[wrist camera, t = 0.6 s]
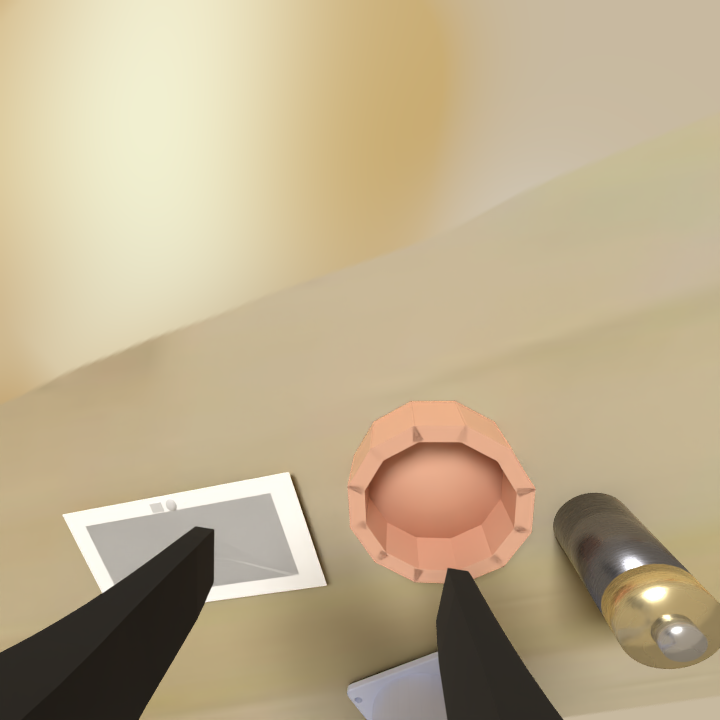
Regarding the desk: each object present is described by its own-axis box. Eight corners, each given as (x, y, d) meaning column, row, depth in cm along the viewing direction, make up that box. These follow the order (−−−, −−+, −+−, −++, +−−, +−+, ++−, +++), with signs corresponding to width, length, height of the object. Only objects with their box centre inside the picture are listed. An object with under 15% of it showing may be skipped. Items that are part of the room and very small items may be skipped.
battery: (642, 537, 20) (759, 664, 13) (572, 564, 21) (651, 697, 14) (611, 481, 19) (720, 587, 13) (540, 511, 20) (609, 626, 14)
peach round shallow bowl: (541, 500, 20) (566, 541, 17) (404, 561, 22) (406, 606, 19) (464, 371, 18) (477, 391, 15) (325, 447, 20) (314, 478, 17)
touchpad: (330, 570, 23) (323, 601, 21) (125, 599, 25) (100, 630, 23) (294, 461, 21) (283, 483, 19) (77, 503, 23) (46, 526, 21)
